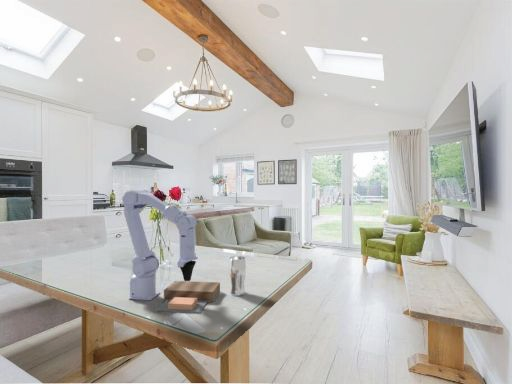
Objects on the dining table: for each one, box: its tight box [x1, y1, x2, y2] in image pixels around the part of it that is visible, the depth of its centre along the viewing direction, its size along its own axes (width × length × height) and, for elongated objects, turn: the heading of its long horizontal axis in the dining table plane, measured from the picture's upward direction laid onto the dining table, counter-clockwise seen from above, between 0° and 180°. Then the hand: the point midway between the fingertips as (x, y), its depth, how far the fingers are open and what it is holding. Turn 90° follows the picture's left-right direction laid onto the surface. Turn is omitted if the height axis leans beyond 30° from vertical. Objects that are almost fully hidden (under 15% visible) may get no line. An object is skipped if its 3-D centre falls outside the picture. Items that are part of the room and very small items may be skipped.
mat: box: [156, 299, 209, 314], centre depth 104 cm, size 16×10×1 cm, turn 83°
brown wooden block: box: [163, 280, 221, 303], centre depth 114 cm, size 20×11×4 cm, turn 83°
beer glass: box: [228, 255, 247, 297], centre depth 117 cm, size 7×7×15 cm
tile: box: [168, 297, 197, 310], centre depth 103 cm, size 9×6×2 cm, turn 83°
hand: (187, 280), depth 108 cm, fingers closed
